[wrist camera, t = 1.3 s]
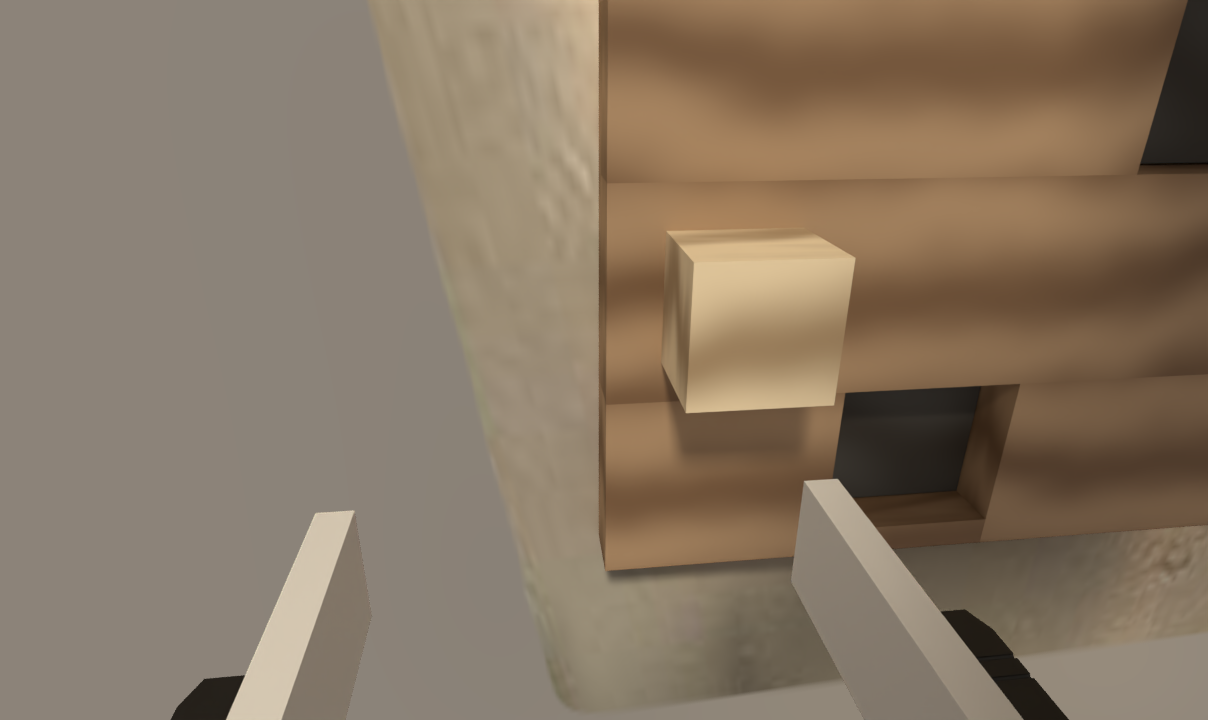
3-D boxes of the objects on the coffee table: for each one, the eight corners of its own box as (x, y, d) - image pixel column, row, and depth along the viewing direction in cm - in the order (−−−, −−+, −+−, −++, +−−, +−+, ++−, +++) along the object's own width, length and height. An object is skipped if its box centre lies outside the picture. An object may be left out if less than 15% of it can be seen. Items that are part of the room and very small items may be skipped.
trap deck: (598, -78, 28) (620, -111, 22) (1469, -57, 32) (1667, -80, 26) (598, 534, 39) (613, 612, 34) (1240, 489, 43) (1346, 551, 38)
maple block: (666, 230, 30) (694, 262, 25) (803, 227, 30) (855, 257, 26) (661, 362, 32) (686, 413, 27) (789, 356, 33) (834, 405, 28)
